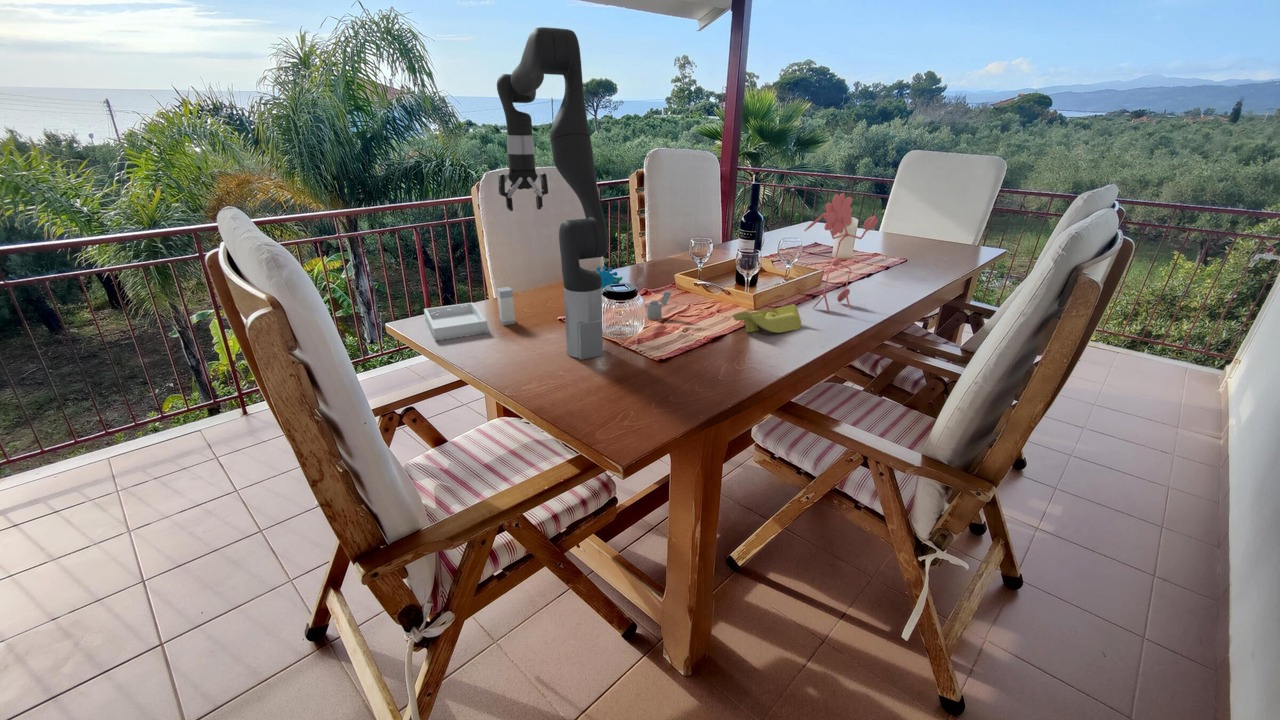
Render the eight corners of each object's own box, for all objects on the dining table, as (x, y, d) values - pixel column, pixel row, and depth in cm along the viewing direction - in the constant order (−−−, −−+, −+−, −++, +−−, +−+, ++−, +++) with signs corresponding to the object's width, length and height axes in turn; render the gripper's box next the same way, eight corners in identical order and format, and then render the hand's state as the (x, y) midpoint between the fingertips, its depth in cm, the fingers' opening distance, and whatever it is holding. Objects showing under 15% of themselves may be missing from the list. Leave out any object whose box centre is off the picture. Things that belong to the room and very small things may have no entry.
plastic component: (772, 309, 165) (798, 302, 157) (777, 332, 165) (803, 328, 157) (725, 316, 154) (750, 310, 146) (730, 342, 154) (755, 337, 146)
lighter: (648, 318, 163) (648, 293, 159) (646, 317, 164) (646, 291, 161) (670, 316, 164) (671, 291, 161) (668, 315, 166) (669, 289, 163)
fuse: (515, 323, 158) (512, 290, 154) (502, 325, 156) (499, 291, 152) (511, 319, 161) (509, 286, 157) (499, 321, 159) (496, 288, 155)
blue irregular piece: (594, 289, 184) (591, 263, 187) (589, 297, 189) (586, 272, 193) (625, 291, 188) (621, 265, 191) (619, 299, 193) (616, 274, 196)
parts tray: (488, 332, 151) (486, 320, 149) (435, 341, 145) (433, 328, 143) (474, 313, 165) (472, 302, 164) (425, 320, 159) (423, 308, 158)
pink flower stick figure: (870, 305, 176) (889, 193, 162) (811, 318, 165) (826, 198, 151) (834, 294, 189) (849, 188, 175) (777, 304, 177) (788, 193, 164)
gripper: (499, 153, 151) (504, 213, 158) (548, 152, 157) (551, 210, 164) (493, 151, 157) (498, 209, 164) (541, 151, 163) (544, 207, 170)
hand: (525, 210), depth 164 cm, fingers open, 8 cm apart
